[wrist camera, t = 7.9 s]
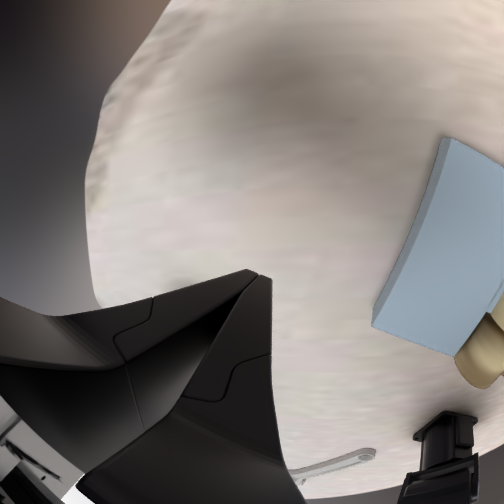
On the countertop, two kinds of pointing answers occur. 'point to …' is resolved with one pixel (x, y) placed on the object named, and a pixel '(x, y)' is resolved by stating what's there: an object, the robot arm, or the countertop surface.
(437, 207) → the light blue block
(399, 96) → the countertop surface
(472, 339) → the wooden tray with rolls
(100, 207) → the countertop surface
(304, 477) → the adjustable wrench
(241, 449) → the robot arm
